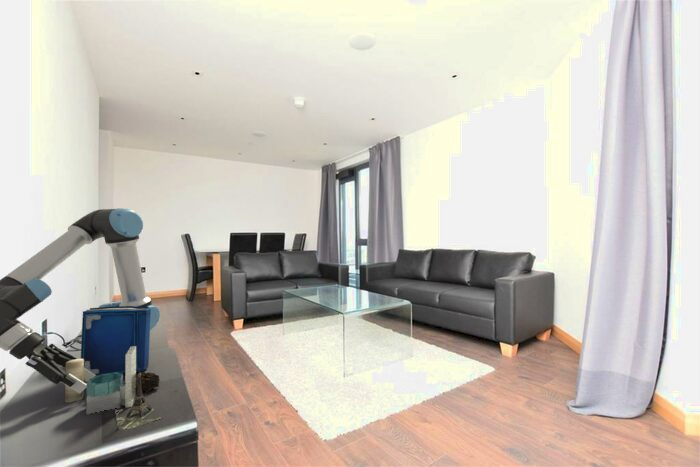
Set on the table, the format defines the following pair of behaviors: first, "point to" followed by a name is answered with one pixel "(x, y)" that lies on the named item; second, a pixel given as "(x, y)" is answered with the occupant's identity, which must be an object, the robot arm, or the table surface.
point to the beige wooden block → (76, 370)
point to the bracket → (113, 387)
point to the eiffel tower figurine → (136, 411)
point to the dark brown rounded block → (148, 381)
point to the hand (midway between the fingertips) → (88, 383)
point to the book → (115, 338)
